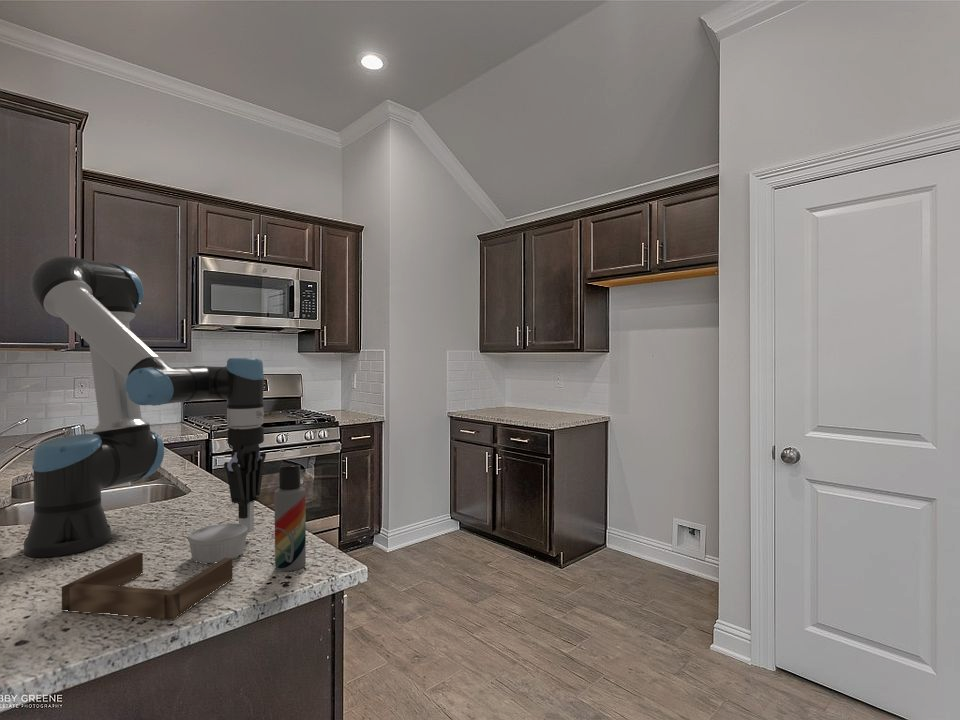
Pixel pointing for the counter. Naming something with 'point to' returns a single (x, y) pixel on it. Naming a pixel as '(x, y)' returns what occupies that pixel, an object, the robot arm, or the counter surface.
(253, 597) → the counter surface
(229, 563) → the walnut box
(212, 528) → the ramekin
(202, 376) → the robot arm
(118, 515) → the counter surface
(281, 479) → the lotion bottle
